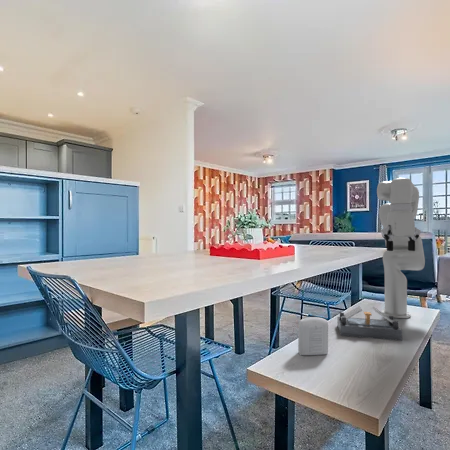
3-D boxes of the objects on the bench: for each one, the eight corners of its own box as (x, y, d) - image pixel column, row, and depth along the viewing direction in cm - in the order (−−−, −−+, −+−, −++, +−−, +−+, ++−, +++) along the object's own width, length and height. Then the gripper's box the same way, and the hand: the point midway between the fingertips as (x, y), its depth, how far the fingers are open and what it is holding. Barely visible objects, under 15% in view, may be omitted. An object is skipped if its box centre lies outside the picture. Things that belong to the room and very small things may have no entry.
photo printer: (324, 350, 110) (324, 315, 110) (330, 355, 106) (330, 318, 106) (296, 351, 109) (296, 316, 108) (301, 356, 104) (301, 320, 104)
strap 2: (392, 322, 127) (393, 320, 127) (395, 326, 122) (397, 324, 122) (372, 308, 129) (374, 306, 129) (374, 311, 124) (376, 309, 124)
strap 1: (343, 322, 127) (341, 320, 127) (341, 318, 132) (339, 316, 132) (362, 311, 125) (361, 308, 125) (360, 307, 130) (358, 305, 130)
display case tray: (337, 325, 135) (337, 307, 135) (393, 330, 130) (393, 310, 130) (340, 335, 124) (340, 315, 124) (401, 340, 118) (402, 319, 118)
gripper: (413, 209, 133) (413, 250, 132) (375, 209, 130) (375, 250, 130) (426, 208, 125) (426, 251, 125) (387, 207, 123) (387, 251, 122)
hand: (400, 250), depth 127 cm, fingers open, 9 cm apart
